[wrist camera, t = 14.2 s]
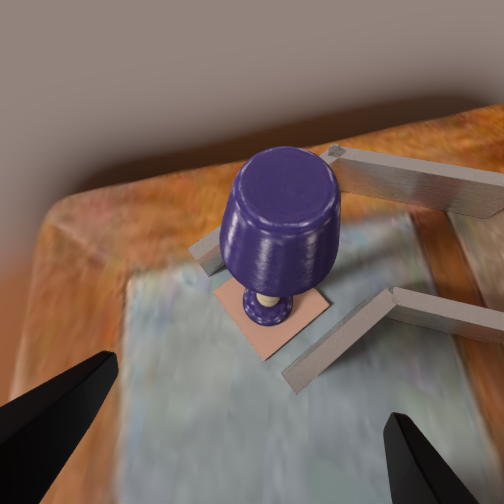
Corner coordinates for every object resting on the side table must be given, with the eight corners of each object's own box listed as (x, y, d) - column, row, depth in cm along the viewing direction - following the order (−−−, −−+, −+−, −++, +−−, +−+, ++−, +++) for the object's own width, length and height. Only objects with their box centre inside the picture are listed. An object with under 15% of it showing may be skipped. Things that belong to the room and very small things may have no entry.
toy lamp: (278, 263, 24) (298, 95, 8) (312, 307, 22) (410, 200, 7) (233, 294, 23) (161, 171, 8) (264, 341, 22) (255, 308, 6)
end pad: (263, 361, 22) (263, 361, 21) (213, 292, 24) (212, 291, 23) (328, 305, 23) (329, 305, 22) (275, 246, 25) (275, 244, 25)
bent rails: (557, 328, 21) (628, 322, 17) (220, 401, 21) (207, 413, 17) (452, 150, 28) (484, 113, 23) (192, 202, 27) (178, 174, 23)
